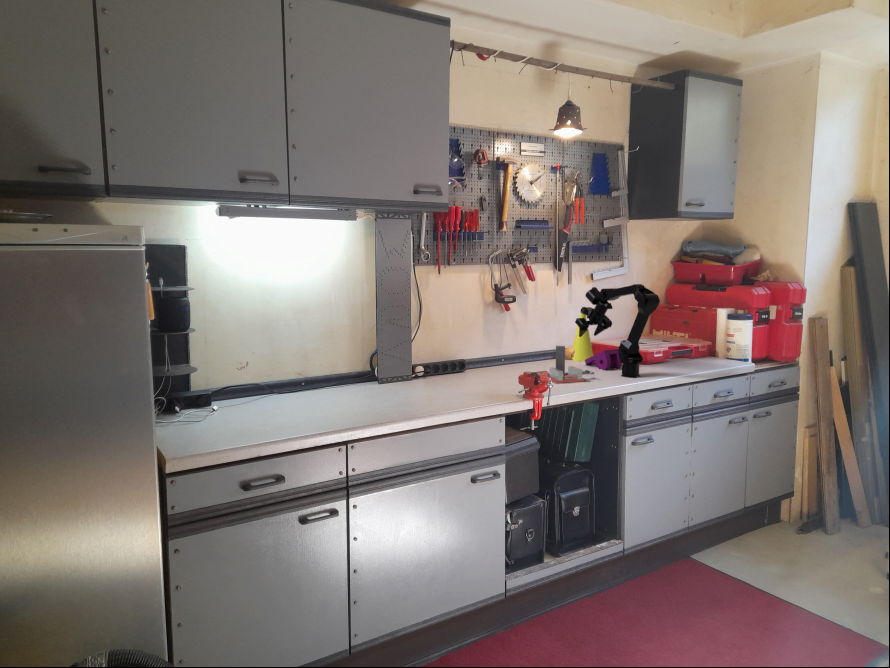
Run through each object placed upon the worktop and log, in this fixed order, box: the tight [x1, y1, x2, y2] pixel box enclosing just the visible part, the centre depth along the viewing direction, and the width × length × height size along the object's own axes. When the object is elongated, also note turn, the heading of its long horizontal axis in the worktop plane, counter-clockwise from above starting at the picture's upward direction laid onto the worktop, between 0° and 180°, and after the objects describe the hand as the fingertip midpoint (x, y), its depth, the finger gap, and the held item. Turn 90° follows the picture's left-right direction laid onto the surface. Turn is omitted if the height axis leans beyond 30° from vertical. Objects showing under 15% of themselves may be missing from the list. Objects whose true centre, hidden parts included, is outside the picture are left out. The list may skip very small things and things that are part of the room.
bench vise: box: [549, 365, 595, 384], centre depth 254 cm, size 18×9×5 cm, turn 105°
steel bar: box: [555, 345, 566, 376], centre depth 266 cm, size 4×4×13 cm
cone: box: [572, 312, 594, 362], centre depth 305 cm, size 12×12×25 cm
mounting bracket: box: [584, 348, 623, 371], centre depth 284 cm, size 9×8×18 cm
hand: (587, 335), depth 287 cm, fingers open, 9 cm apart
